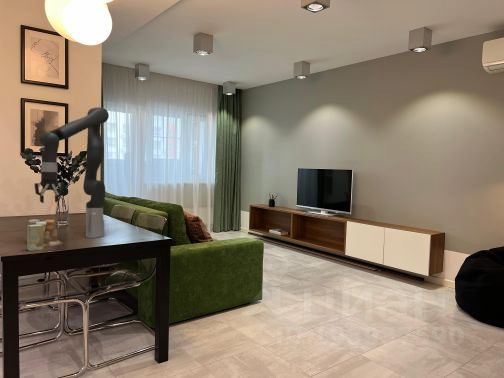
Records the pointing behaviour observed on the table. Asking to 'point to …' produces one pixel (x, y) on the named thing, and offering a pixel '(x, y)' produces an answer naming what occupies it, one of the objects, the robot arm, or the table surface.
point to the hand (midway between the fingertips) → (49, 202)
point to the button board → (50, 238)
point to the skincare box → (35, 237)
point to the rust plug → (49, 224)
